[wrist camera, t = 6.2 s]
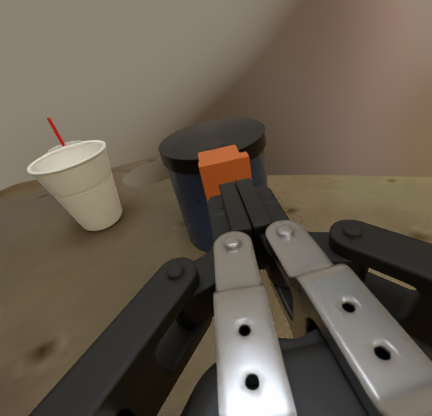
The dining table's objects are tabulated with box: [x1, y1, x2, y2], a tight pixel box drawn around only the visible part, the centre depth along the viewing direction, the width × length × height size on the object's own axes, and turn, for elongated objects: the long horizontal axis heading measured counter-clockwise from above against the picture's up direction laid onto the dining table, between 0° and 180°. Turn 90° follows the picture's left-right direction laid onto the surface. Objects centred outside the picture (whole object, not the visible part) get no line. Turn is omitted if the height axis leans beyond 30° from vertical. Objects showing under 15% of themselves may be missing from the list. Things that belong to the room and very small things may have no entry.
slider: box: [198, 145, 252, 203], centre depth 18 cm, size 6×3×3 cm, turn 7°
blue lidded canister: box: [159, 118, 267, 252], centre depth 29 cm, size 11×11×12 cm
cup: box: [27, 140, 122, 231], centre depth 36 cm, size 10×10×11 cm
